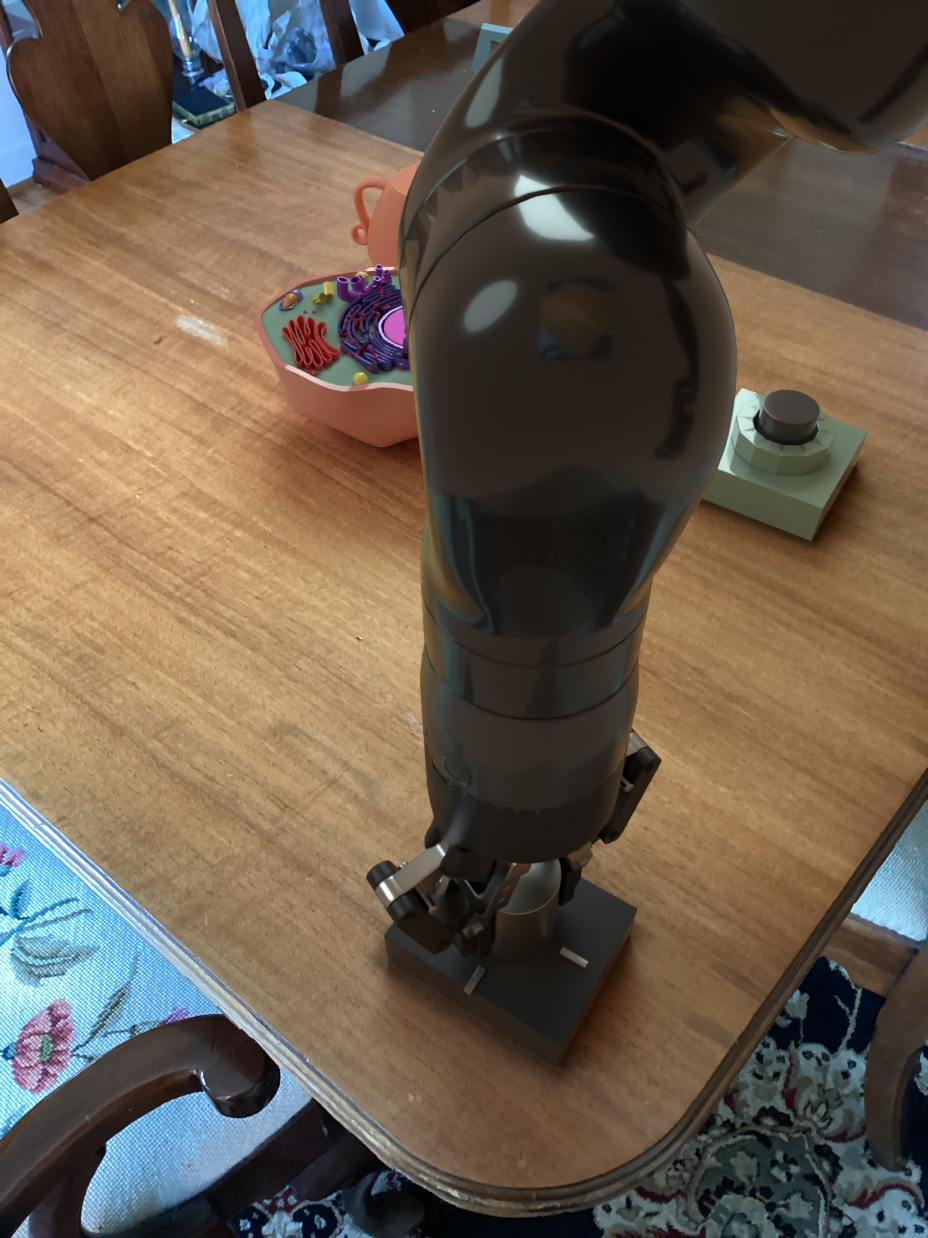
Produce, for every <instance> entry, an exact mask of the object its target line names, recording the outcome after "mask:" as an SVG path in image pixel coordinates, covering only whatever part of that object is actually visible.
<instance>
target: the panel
mask: <svg viewBox="0 0 928 1238" xmlns="http://www.w3.org/2000/svg"><path fill="white" fill-rule="evenodd" d="M442 878H443V875H442V876H441V877H440V878H439V879H438V880H437V882H436V884H435V887H436V892H435V893H434V895H433V896H432V898H434V897H436V896H438V895H437V891H438V888H439V886H440V883H441V880H442ZM637 912H638V908H637V907H636V906H634V905H633V904H630V903H629V902H627V901H625V900H624V899H622V898H620V897H618V896H616V895H614V894H613V893H611V892H609V891H607V890H605V889H604V888H602V887H600V886H599V885H597V884H595V883H593V882H591V881H589V880H588V879H586V878H584V877H582V876H581V879H580V881H579V882H578V884H577V886H575V891H574V897H573V899H572V900H571V901H569V902H568V903H566V904H564V905H563V906H559V905H558V904H557V909H556V916H555V923H554V929H553V934H552V937H551V939H550V941H549V943H548V944H547V946H546V947H545V948H544V949H543V951H541V952H540V953H539V954H538V955H536V956H535V957H533V958H531V959H528V960H525V961H521V962H505V961H500V960H498V959H495V958H493V957H491V956H489V955H487V956H486V957H484V958H483V959H481V960H479V961H478V960H476V958H475V957H474V956H473V954H471V955H470V956H468V957H466V958H465V957H463V956H462V955H461V954H460V953H459V951H458V950H457V948H456V947H455V945H454V944H453V943H452V944H451V945H450V947H449V948H448V949H447V950H445V951H444V952H441V953H439V954H436V955H433V954H431V953H430V952H429V951H427V950H426V949H425V948H423V947H422V946H421V945H420V944H418V943H417V942H416V941H414V940H413V939H412V938H410V937H409V936H408V935H407V934H405V933H404V932H403V931H401V930H400V929H399V928H398V927H397V926H396V924H395V923H394V921H393V922H392V924H390V926H389V928H388V929H387V930H386V932H385V933H384V935H383V938H384V943H385V944H384V945H385V950H386V956H387V960H389V961H390V962H392V963H393V964H394V965H396V966H397V967H399V968H401V969H403V970H404V971H406V972H407V973H409V974H410V975H412V976H413V977H415V978H417V979H418V980H419V981H421V982H422V983H424V984H426V985H427V986H429V987H431V988H432V989H434V990H435V991H436V992H438V993H440V994H441V995H443V996H444V997H446V998H448V999H449V1000H451V1001H452V1002H454V1003H455V1004H457V1005H458V1006H460V1007H462V1008H463V1009H465V1010H466V1011H467V1012H469V1013H471V1014H472V1015H474V1016H476V1017H477V1018H479V1019H480V1020H482V1021H483V1022H484V1023H487V1024H488V1025H490V1026H492V1027H493V1028H494V1029H496V1030H497V1031H499V1032H500V1033H502V1034H503V1035H505V1036H506V1037H509V1038H510V1039H512V1040H513V1041H514V1042H516V1043H518V1044H519V1045H521V1046H522V1047H524V1048H525V1049H527V1050H529V1051H530V1052H532V1053H533V1054H535V1055H536V1056H538V1057H539V1058H541V1059H542V1060H544V1061H546V1062H547V1063H549V1064H550V1065H552V1066H554V1067H555V1068H558V1067H559V1065H560V1063H561V1062H562V1060H563V1058H564V1056H565V1054H566V1053H567V1050H568V1049H569V1047H570V1045H571V1043H572V1041H573V1039H574V1037H575V1036H576V1034H577V1032H578V1030H579V1028H580V1026H581V1025H582V1023H583V1021H584V1019H585V1018H586V1016H587V1013H588V1012H589V1010H590V1008H591V1006H592V1004H593V1003H594V1001H595V999H596V997H597V995H598V994H599V992H600V990H601V988H602V986H603V984H604V983H605V981H606V980H607V977H608V975H609V973H610V972H611V970H612V968H613V966H614V964H615V963H616V961H617V960H618V959H617V958H618V957H619V955H620V953H621V951H622V950H623V948H624V946H625V944H626V942H627V940H628V939H629V937H630V935H631V932H632V930H633V926H634V922H635V919H636V915H637Z"/></svg>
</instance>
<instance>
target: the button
mask: <svg viewBox="0 0 928 1238" xmlns="http://www.w3.org/2000/svg"><path fill="white" fill-rule="evenodd" d="M765 396H766V397H765V398H764V399H763V402H762V406H761V409H760V413H759V417H758V420H757V430H758V432H759V433H760V434H761V435H762V436H763V437H764V438H765V439H767V440H769V441H772V442H775V443H778V444H781V445H802V444H805V443H807V442H808V441H809V440H810V439H811V438H812V436H813V433H814V430H815V426H816V423H817V420H818V417H819V414H820V409H821V408H820V405H819V403H818V402H817V401H816V400H815V399H814V398H813V397H812V396H810V395H809V394H807V393H805V392H802V391H799V390H795V389H778V390H773V391H771V392H769V393H768V394H766V395H765Z"/></svg>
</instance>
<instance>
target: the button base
mask: <svg viewBox="0 0 928 1238" xmlns="http://www.w3.org/2000/svg"><path fill="white" fill-rule="evenodd" d="M766 396H767V395H765V394H762V393H759V392H755V391H753V390H750V389H747V388H744V387H742V388H740V390H739V391H738V392H737V394H735V402H734V410H733V416H732V421H731V427H730V432H729V436H728V439H727V443H726V447H725V450H724V453H723V456H722V459H721V461H720V464H719V467H718V469H717V471H716V473H715V475H714V477H713V479H712V481H711V483H710V485H709V487H708V489H707V490H706V492H705V494H704V496H703V497H702V499H701V500H703V501H707V502H708V503H712V504H714V505H716V506H719V507H722V508H724V509H727V510H729V511H732V512H735V513H737V514H739V515H742V516H746V517H748V518H749V519H753V520H754V521H755V520H756V521H758V522H760V523H763V524H766V525H768V526H771V527H773V528H775V529H776V528H777V529H778V530H781V531H783V532H787V533H789V534H790V535H791V534H792V535H794V536H797V537H798V538H802V539H804V540H807V541H809V542H812V541H813V539H814V538H815V536H816V533H817V532H818V531H819V528H820V527H821V525H822V523H823V522H824V520H825V518H826V517H827V515H828V513H829V511H830V509H831V508H832V506H833V504H834V502H835V500H836V499H837V498H838V496H839V494H840V492H841V490H842V488H843V487H844V485H845V483H846V481H847V480H848V478H849V477H850V475H851V473H852V471H853V469H854V468H855V467H856V464H857V462H858V460H859V456H860V454H861V451H862V449H863V446H864V444H865V441H866V438H867V435H868V433H869V430H867V429H865V428H863V427H862V428H861V427H859V426H856V425H853V424H850V423H847V422H845V421H841V420H839V419H835V418H832V417H831V416H830V415H829V414H827V413H826V412H825V411H824V410H822V409H821V408H820V414H819V417H818V420H817V423H816V426H815V430H814V433H813V436H812V438H811V439H810V440H809V441H808V442H807V443H805V444H802V445H781V444H778V443H775V442H772V441H769V440H767V439H765V438H764V437H763V436H762V435H761V434H760V433H759V432H758V430H757V420H758V417H759V413H760V409H761V406H762V402H763V399H764V398H765V397H766Z"/></svg>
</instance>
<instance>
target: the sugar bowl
mask: <svg viewBox="0 0 928 1238" xmlns="http://www.w3.org/2000/svg"><path fill="white" fill-rule="evenodd" d="M421 160H422V159H421ZM421 160H419V161H417V162H416V163H415V164H411V165H408V166H405V167H403V168H401V169H399V170H398V171H397V172H395V173H394V174H393V175H392V176H391V177H390V179H389V180H388V179H386V178H384V177H381V176H376V175H372V176H367V177H364V178H363V179H362V180H360V181H359V182H358V183H357V184H356V186H355V187H354V190H353V197H352V198H353V204H354V209H355V211H356V214H357V217H358V219H359V221H357V222H355V223H353V224H352V226H351V228H350V237H351V240H352V241H353V242H354V243H355V244H357V245H359V246H366V248H367V249H366V250H367V255H368V257H369V259H370V261H371V263H372V264H373V267H376V265H378V264H381V265H382V266H383V267H397V261H396V246H397V235H398V228H399V221H400V216H401V212H402V209H403V205H404V202H405V198H406V195H407V192H408V190H409V187H410V185H411V182H412V180H413V178H414V175H415V173H416V170H417V168H418V166H419V164H420V162H421ZM369 188H370V189H371V188H375V189H379V190H381V194H380V196H379V197H378V199H377V201H376V203H375V206H374V207H373V210H372V212H371V216H369V214H368V212H367V209H366V206H365V202H364V198H363V192H364V190H366V189H369ZM358 230H363V233H364V234H361V232H359V231H358Z"/></svg>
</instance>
